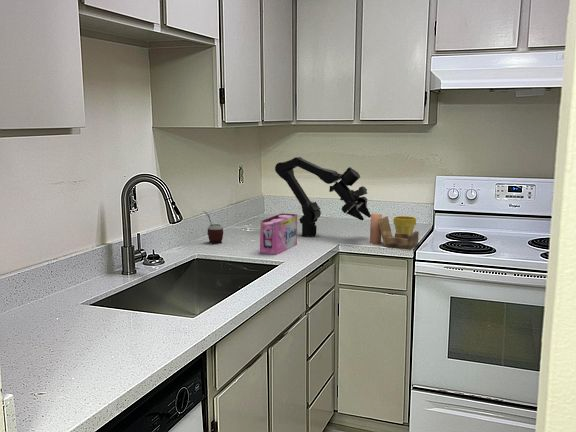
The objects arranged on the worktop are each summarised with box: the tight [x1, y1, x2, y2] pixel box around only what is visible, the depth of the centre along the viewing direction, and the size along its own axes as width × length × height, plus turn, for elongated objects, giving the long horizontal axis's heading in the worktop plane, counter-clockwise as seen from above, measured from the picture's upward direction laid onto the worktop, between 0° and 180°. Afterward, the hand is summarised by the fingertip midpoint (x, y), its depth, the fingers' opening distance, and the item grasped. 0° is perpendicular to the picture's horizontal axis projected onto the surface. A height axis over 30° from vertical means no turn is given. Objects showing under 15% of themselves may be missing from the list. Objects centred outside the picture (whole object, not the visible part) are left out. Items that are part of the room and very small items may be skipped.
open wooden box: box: [386, 230, 420, 251], centre depth 247 cm, size 10×12×6 cm
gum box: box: [259, 212, 298, 256], centre depth 239 cm, size 24×8×14 cm, turn 157°
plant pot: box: [393, 215, 417, 234], centre depth 264 cm, size 10×10×10 cm
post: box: [369, 213, 383, 245], centre depth 253 cm, size 5×5×13 cm
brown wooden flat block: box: [378, 216, 393, 247], centre depth 251 cm, size 4×10×12 cm, turn 152°
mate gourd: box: [203, 210, 224, 245], centre depth 249 cm, size 8×8×15 cm
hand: (366, 218), depth 254 cm, fingers open, 9 cm apart
